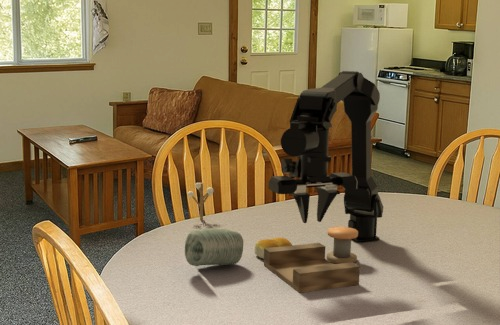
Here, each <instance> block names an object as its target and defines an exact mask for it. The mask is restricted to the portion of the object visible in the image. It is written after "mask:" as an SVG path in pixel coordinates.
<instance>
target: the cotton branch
mask: <svg viewBox="0 0 500 325" xmlns="http://www.w3.org/2000/svg"><path fill="white" fill-rule="evenodd" d="M194 187H195V188H196V189H197V190H198V192H199V201H198V200H197V199H196V197H195V193H194V192H193V191H192V190H190V191H188V192H187V197H188V198H192V199H193V200H194V201H195V203H196V204H197V206H198V207H199V221H203V220H204V204H205V202H206V201H207V199H208V198H209V197H211V196H212V195H213V193H214V191H215V190H214V188H213V187H211V186H210V187H207V188H206V193H205V194H204V188H205V186H204V183H203V182H196V183H195V185H194Z"/></svg>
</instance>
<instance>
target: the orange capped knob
mask: <svg viewBox="0 0 500 325" xmlns="http://www.w3.org/2000/svg"><path fill="white" fill-rule="evenodd" d="M327 236H328V237H330V238H333V251H330V252H327V253H326V260H327V261H329V262H331V263H332V264H341V263H350V262H353V263H355V264H356V263H357V259H358V255H357V254H355V253H353V252H351V251H352V240H354V238H357V237H358V231H357V230H356V229H353V228H349V227H348V226H347V227H346V226H334V227H329V228H327Z"/></svg>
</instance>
